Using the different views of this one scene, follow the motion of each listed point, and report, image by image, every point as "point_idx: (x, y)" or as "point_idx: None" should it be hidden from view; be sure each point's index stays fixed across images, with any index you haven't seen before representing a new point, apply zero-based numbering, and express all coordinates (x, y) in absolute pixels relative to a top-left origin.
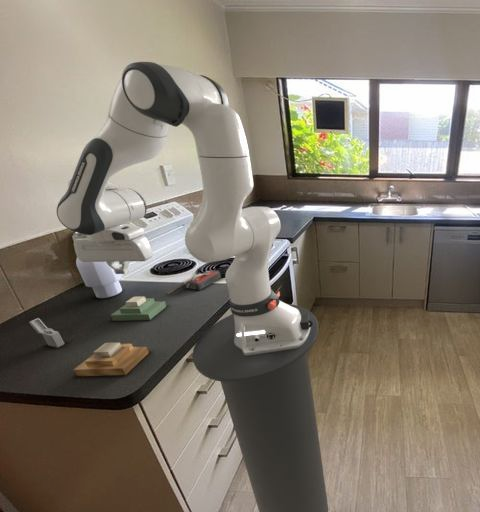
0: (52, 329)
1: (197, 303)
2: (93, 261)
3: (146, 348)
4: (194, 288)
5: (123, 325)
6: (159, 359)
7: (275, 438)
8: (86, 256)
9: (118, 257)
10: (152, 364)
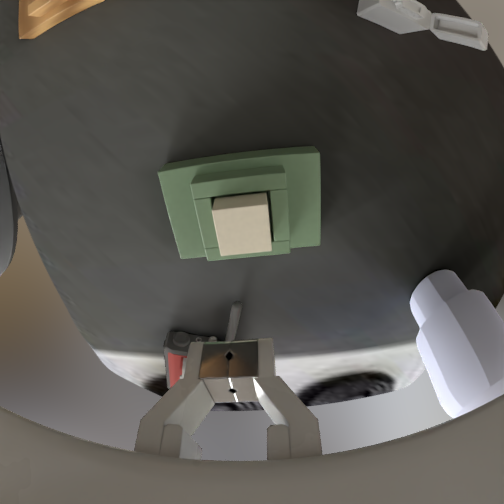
0: (401, 5)
1: (105, 269)
2: (444, 426)
3: (22, 37)
4: (178, 333)
5: (239, 118)
6: (2, 40)
7: None
8: (498, 458)
9: (121, 496)
10: (5, 24)
